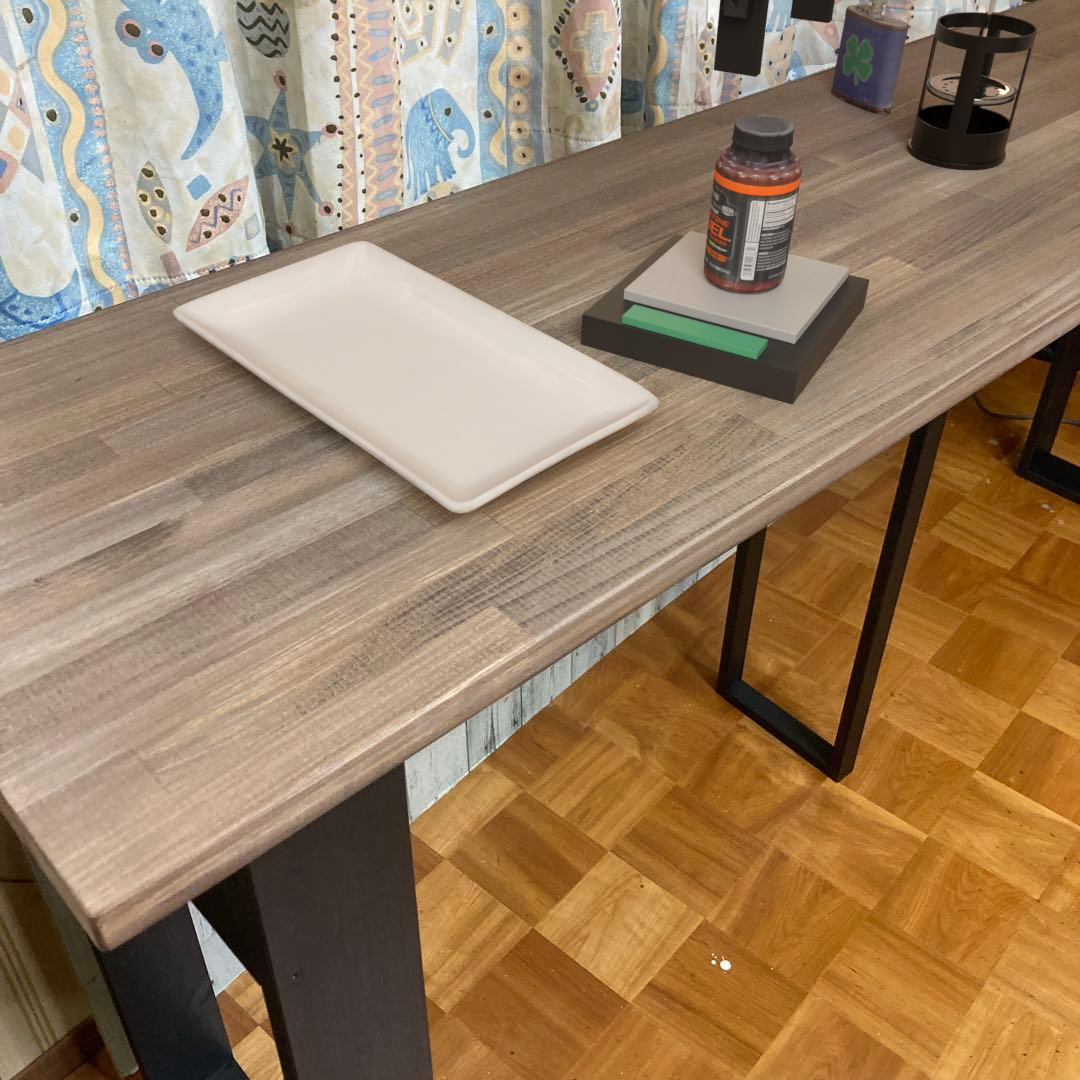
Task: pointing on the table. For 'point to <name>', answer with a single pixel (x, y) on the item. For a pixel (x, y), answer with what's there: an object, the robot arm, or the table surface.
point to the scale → (727, 320)
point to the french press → (970, 93)
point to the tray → (418, 371)
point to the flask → (869, 57)
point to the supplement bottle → (753, 206)
